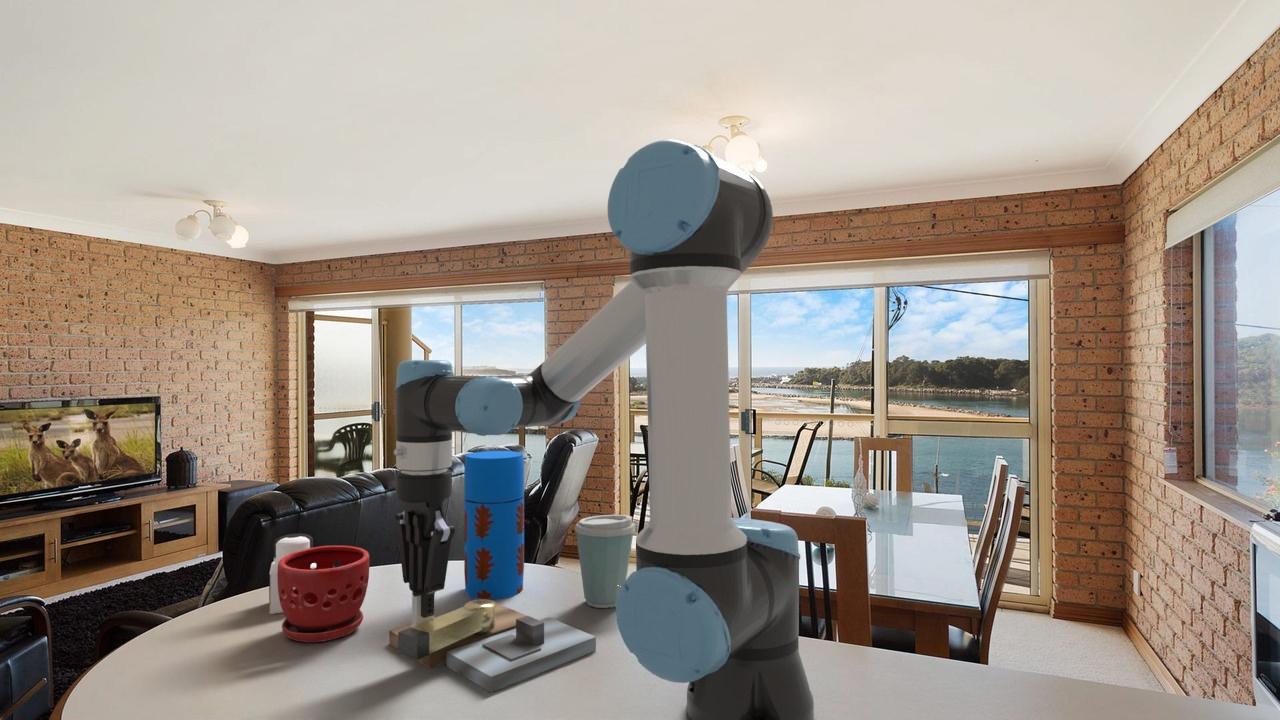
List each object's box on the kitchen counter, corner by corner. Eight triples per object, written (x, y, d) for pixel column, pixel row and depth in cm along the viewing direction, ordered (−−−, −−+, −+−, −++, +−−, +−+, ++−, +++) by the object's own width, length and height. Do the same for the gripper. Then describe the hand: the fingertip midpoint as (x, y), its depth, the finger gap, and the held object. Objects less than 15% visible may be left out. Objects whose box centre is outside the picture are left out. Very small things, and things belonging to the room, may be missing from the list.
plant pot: (257, 644, 104) (257, 564, 104) (317, 613, 117) (317, 542, 117) (332, 653, 101) (332, 570, 101) (386, 620, 114) (386, 547, 114)
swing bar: (480, 619, 107) (480, 597, 107) (501, 625, 104) (501, 602, 104) (396, 655, 94) (396, 630, 94) (418, 663, 91) (418, 637, 91)
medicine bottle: (271, 601, 123) (271, 533, 123) (316, 595, 126) (316, 529, 126) (269, 615, 116) (269, 543, 116) (316, 608, 119) (316, 538, 119)
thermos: (510, 601, 123) (510, 459, 123) (454, 597, 125) (454, 457, 125) (532, 582, 133) (532, 451, 133) (480, 578, 135) (480, 450, 135)
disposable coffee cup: (563, 607, 120) (563, 520, 120) (591, 588, 129) (591, 508, 129) (619, 616, 115) (619, 526, 115) (644, 596, 125) (644, 513, 125)
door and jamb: (596, 650, 102) (596, 616, 102) (477, 697, 88) (477, 658, 88) (501, 609, 119) (501, 580, 119) (389, 643, 104) (389, 610, 104)
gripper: (377, 467, 99) (376, 631, 100) (421, 479, 90) (420, 660, 91) (426, 461, 105) (425, 617, 105) (472, 472, 96) (471, 643, 96)
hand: (423, 637), depth 98 cm, fingers closed
